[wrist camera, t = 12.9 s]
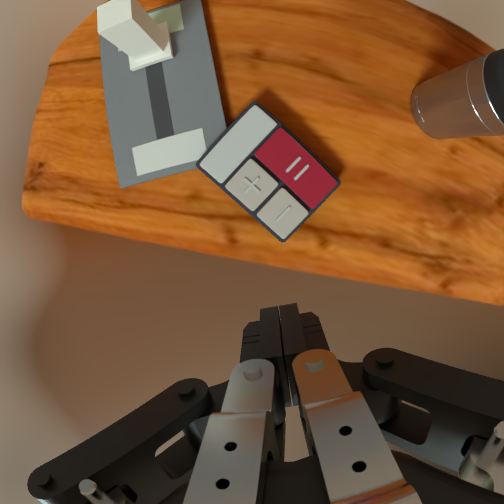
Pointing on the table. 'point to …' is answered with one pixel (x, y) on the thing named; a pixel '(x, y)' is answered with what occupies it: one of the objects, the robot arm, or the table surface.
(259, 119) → the calculator
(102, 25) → the switch slider
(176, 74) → the switch panel
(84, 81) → the table surface
